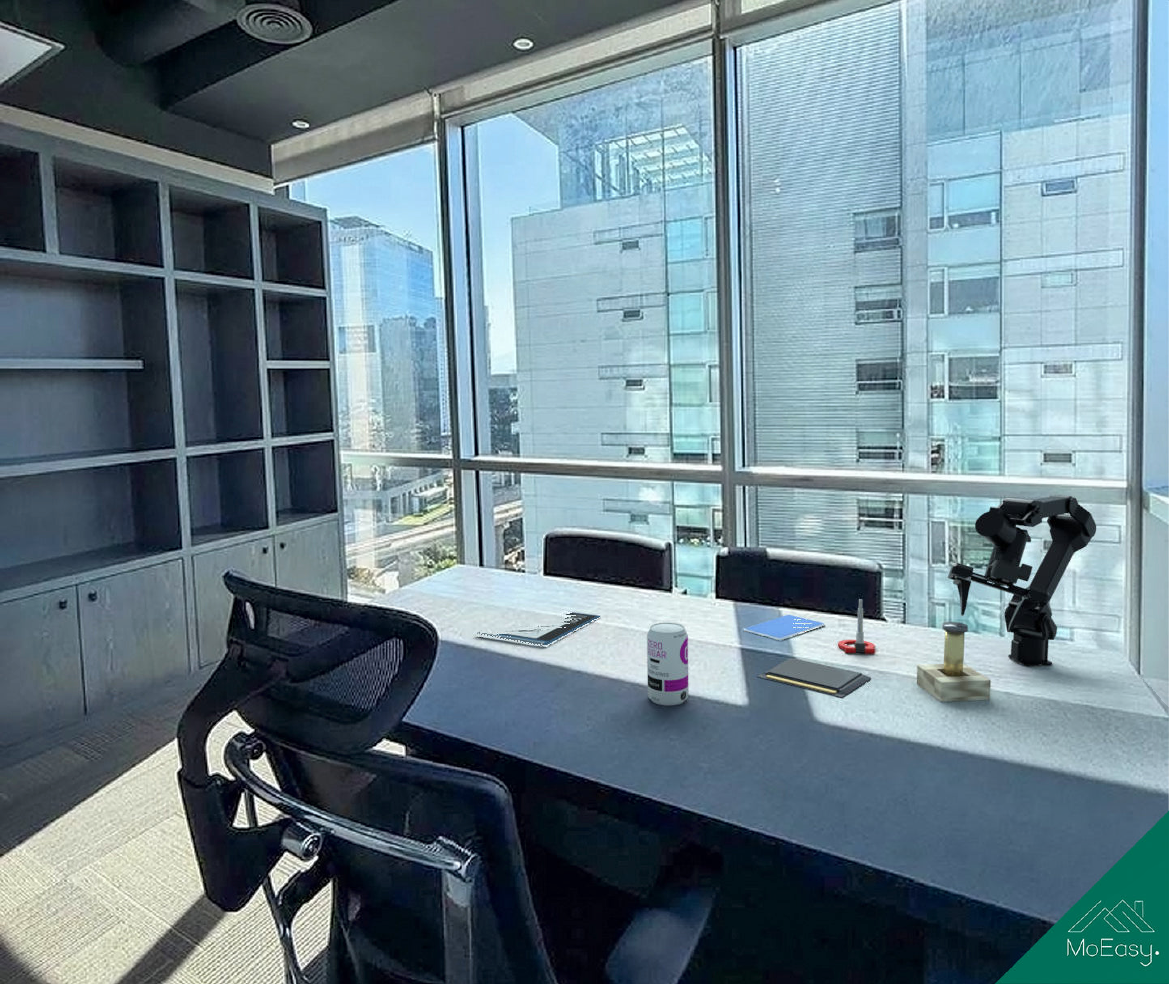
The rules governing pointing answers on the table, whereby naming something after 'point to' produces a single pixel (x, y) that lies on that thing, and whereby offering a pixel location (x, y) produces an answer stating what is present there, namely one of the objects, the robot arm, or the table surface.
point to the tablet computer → (783, 627)
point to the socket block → (953, 683)
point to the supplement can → (667, 663)
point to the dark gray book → (816, 677)
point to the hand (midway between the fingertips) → (985, 623)
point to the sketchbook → (549, 630)
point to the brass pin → (954, 648)
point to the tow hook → (858, 638)
